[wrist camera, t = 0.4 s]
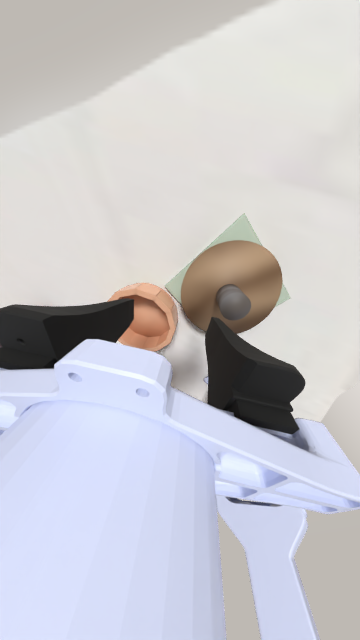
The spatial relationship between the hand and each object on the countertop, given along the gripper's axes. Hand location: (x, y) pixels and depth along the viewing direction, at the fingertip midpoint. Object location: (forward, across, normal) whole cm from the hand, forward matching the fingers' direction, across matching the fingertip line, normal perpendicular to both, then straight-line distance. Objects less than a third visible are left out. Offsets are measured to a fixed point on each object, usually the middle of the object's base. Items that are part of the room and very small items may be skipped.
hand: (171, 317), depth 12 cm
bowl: (+10, +5, +6) cm, 12 cm away
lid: (+9, -6, -1) cm, 11 cm away
